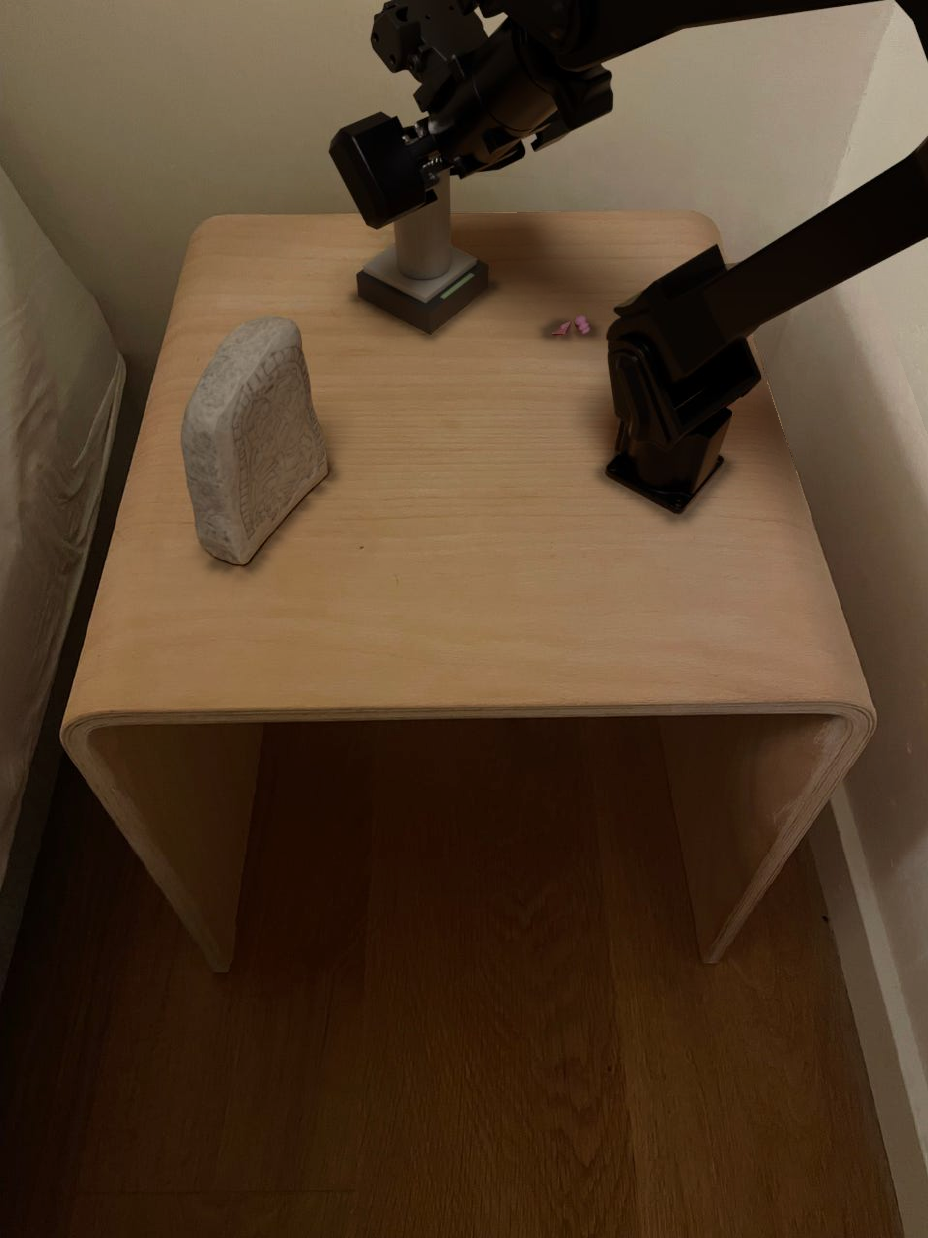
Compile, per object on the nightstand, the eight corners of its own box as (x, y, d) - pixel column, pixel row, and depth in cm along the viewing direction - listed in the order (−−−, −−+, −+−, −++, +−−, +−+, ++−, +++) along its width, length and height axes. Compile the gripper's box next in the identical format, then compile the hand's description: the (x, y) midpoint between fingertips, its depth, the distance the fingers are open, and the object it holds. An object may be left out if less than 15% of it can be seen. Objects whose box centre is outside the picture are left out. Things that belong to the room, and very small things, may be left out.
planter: (398, 282, 74) (389, 157, 65) (395, 249, 76) (386, 125, 68) (453, 278, 74) (452, 154, 66) (448, 246, 77) (446, 122, 68)
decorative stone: (256, 581, 60) (204, 414, 48) (183, 548, 62) (115, 378, 49) (342, 474, 66) (315, 299, 53) (273, 447, 67) (232, 270, 55)
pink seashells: (558, 350, 76) (562, 351, 74) (549, 332, 76) (553, 334, 74) (589, 330, 76) (594, 331, 74) (580, 313, 75) (585, 314, 74)
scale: (488, 287, 78) (489, 258, 76) (430, 334, 74) (429, 305, 72) (417, 252, 81) (416, 223, 78) (357, 296, 77) (354, 267, 75)
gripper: (562, -91, 58) (451, 39, 72) (326, -7, 51) (254, 119, 65) (634, 84, 61) (515, 176, 75) (422, 185, 54) (333, 266, 68)
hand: (409, 181), depth 70 cm, fingers closed on planter, 4 cm apart
